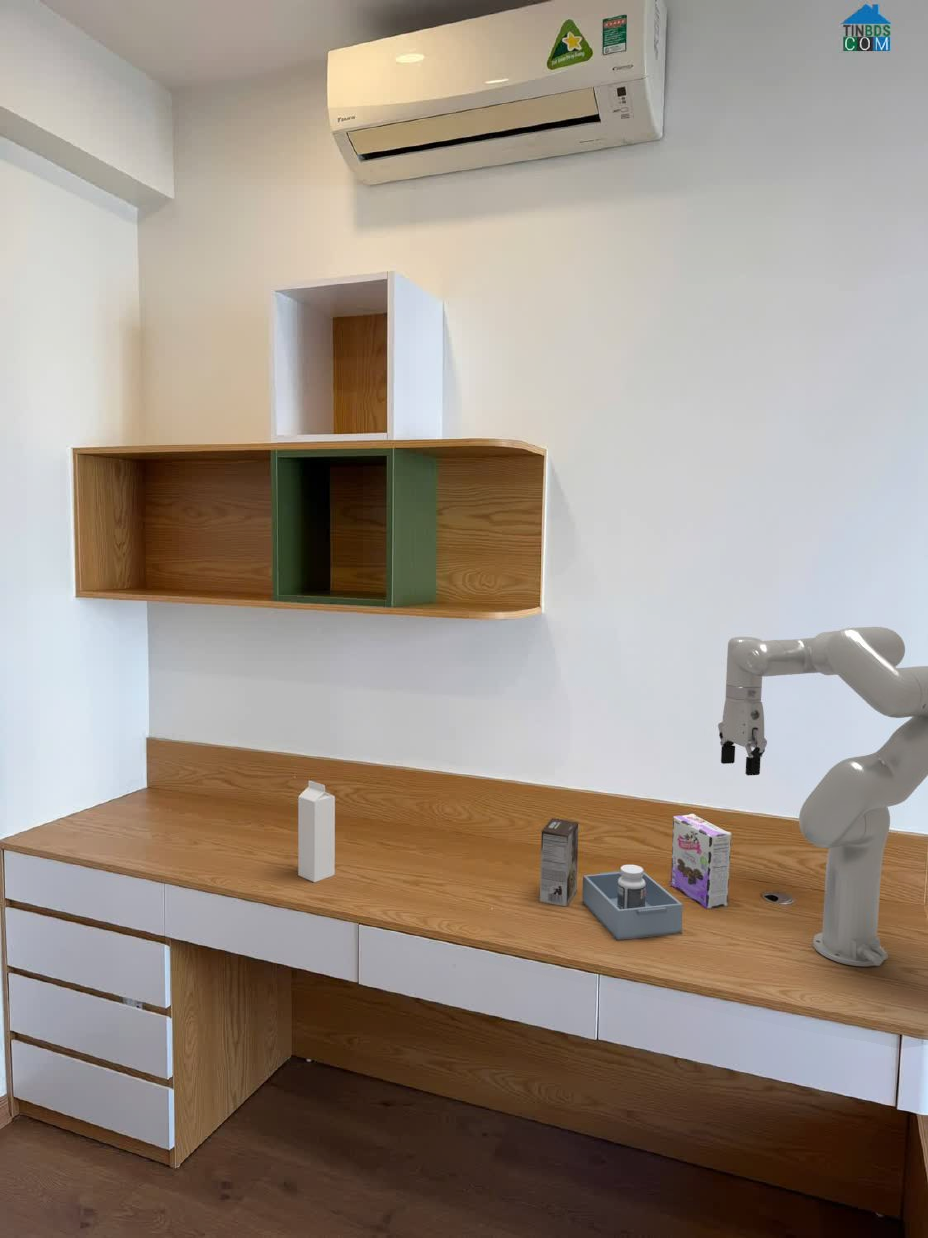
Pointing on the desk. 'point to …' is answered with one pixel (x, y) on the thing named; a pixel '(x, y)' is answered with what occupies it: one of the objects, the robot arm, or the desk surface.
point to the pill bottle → (631, 887)
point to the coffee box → (559, 862)
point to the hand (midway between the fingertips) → (739, 768)
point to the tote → (634, 922)
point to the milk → (316, 833)
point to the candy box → (700, 860)
